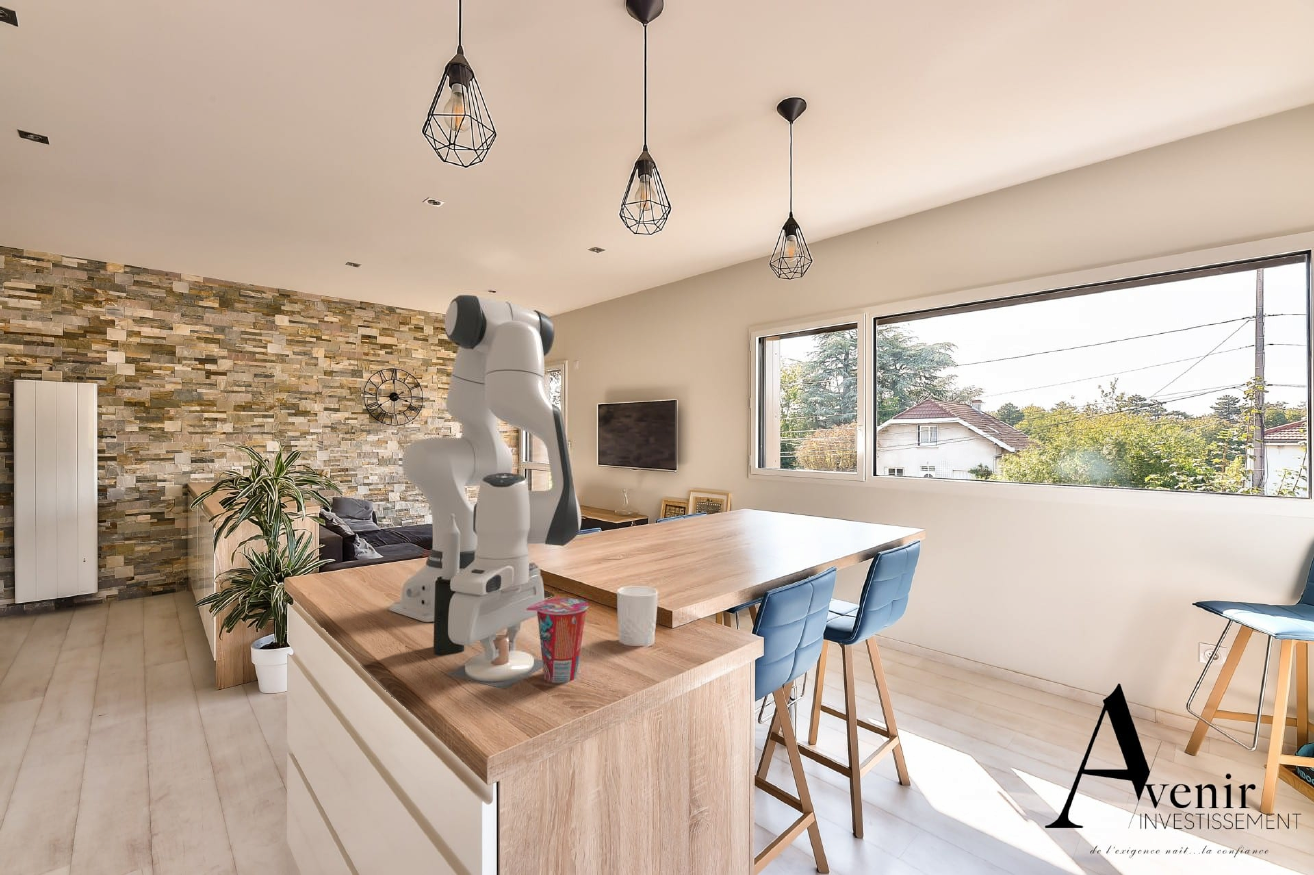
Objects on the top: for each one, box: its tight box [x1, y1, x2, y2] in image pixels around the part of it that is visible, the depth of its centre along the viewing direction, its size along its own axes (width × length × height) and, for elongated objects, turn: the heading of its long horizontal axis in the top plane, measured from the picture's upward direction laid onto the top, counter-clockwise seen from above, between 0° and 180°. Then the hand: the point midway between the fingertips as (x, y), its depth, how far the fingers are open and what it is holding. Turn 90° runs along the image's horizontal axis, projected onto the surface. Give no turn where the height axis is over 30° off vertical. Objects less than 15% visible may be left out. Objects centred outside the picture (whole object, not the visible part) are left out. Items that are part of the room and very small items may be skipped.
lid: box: [464, 634, 535, 682], centre depth 94 cm, size 11×11×5 cm
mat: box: [445, 658, 543, 690], centre depth 94 cm, size 12×12×1 cm
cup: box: [526, 597, 589, 684], centre depth 91 cm, size 9×8×12 cm
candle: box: [432, 514, 465, 656], centre depth 103 cm, size 5×5×25 cm
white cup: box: [616, 585, 659, 648], centre depth 109 cm, size 8×8×10 cm
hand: (500, 655), depth 94 cm, fingers closed on lid, 3 cm apart
